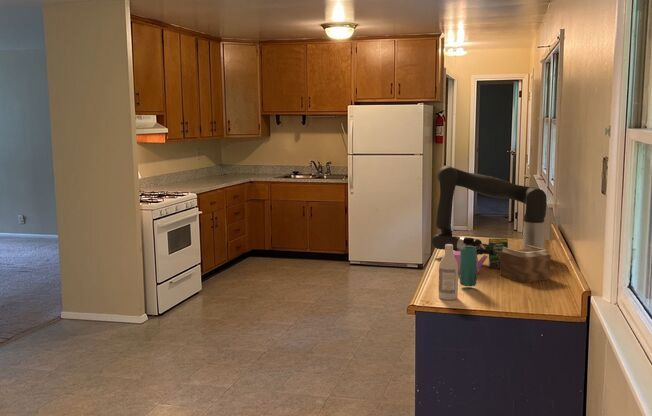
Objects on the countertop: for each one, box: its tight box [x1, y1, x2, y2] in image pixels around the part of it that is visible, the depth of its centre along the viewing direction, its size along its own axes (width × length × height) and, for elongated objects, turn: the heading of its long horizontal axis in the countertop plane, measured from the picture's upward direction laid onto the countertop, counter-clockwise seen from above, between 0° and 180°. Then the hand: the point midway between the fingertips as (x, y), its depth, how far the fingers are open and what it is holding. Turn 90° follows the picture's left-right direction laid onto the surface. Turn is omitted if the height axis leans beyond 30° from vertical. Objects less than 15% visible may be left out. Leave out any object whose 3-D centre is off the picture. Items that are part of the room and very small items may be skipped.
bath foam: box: [438, 244, 459, 301], centre depth 234 cm, size 7×7×20 cm
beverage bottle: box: [459, 236, 478, 287], centre depth 248 cm, size 6×7×20 cm
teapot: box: [453, 250, 488, 276], centre depth 274 cm, size 18×10×10 cm, turn 80°
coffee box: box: [488, 238, 509, 269], centre depth 282 cm, size 8×3×13 cm, turn 82°
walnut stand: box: [499, 245, 552, 284], centre depth 265 cm, size 14×14×12 cm
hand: (499, 251), depth 281 cm, fingers open, 8 cm apart
